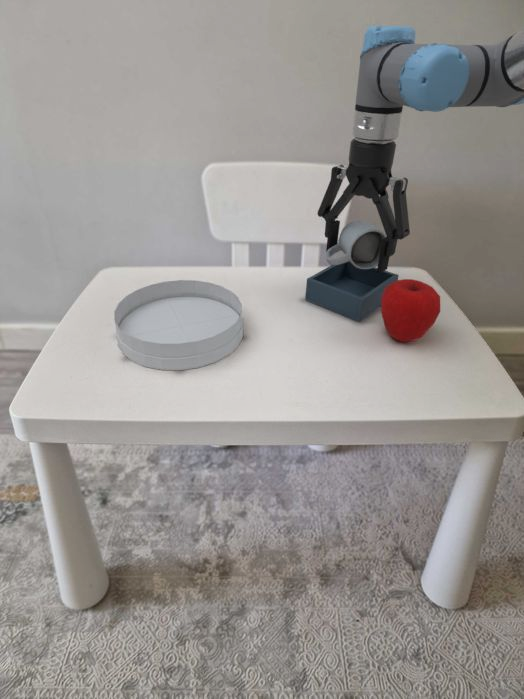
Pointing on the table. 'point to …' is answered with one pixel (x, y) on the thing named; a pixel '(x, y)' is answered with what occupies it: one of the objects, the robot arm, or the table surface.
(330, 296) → the tub
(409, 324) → the apple
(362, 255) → the ceramic mug
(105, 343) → the table surface
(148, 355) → the dish
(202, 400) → the table surface
